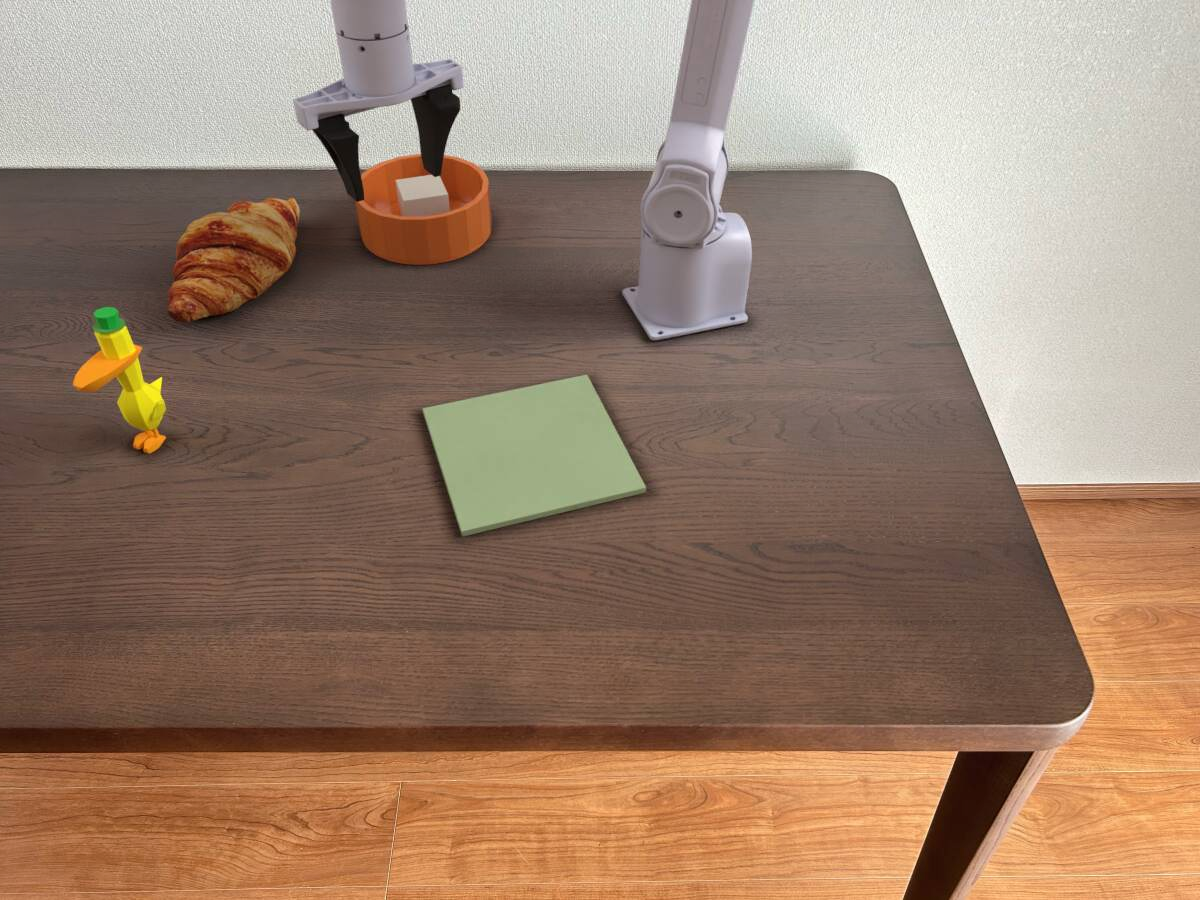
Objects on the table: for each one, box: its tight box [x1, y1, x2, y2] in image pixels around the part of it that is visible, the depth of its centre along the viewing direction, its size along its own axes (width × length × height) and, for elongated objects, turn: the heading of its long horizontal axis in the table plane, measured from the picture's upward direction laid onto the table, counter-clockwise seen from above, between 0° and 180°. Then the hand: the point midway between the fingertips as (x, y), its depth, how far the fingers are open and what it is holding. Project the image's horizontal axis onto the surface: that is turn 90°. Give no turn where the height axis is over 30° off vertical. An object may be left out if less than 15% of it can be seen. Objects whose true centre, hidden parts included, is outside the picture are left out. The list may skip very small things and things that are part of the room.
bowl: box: [353, 153, 493, 266], centre depth 97 cm, size 13×13×5 cm
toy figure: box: [72, 306, 167, 455], centre depth 71 cm, size 7×4×12 cm, turn 157°
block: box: [395, 175, 450, 216], centre depth 97 cm, size 4×4×4 cm
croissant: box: [166, 197, 301, 323], centre depth 91 cm, size 21×10×8 cm, turn 166°
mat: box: [422, 374, 647, 538], centre depth 75 cm, size 14×14×1 cm
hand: (394, 184), depth 86 cm, fingers open, 7 cm apart
